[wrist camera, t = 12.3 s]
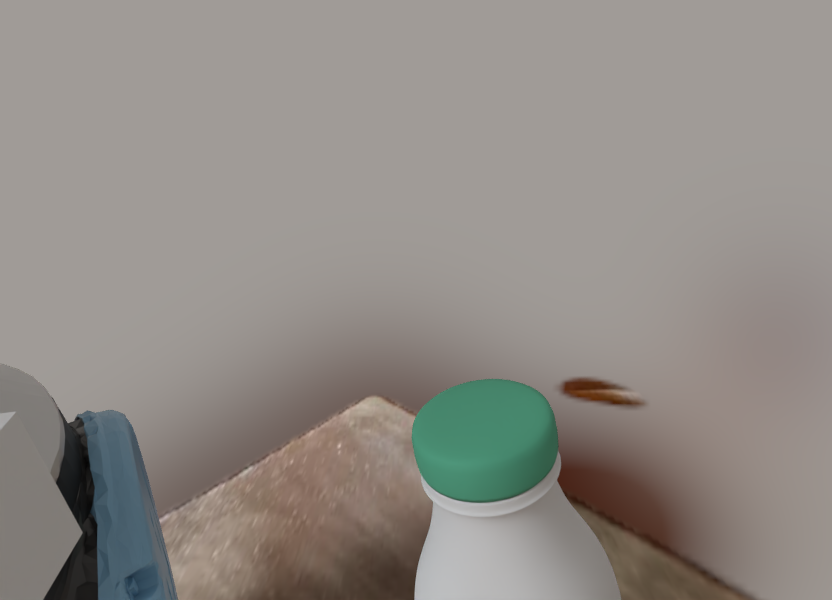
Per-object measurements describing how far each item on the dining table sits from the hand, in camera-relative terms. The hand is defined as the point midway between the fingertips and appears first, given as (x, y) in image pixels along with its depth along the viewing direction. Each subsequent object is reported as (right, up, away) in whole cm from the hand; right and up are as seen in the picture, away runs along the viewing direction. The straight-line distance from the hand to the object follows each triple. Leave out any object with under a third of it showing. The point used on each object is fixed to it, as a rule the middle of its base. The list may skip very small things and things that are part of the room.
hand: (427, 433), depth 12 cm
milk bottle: (+6, -19, +21) cm, 29 cm away
